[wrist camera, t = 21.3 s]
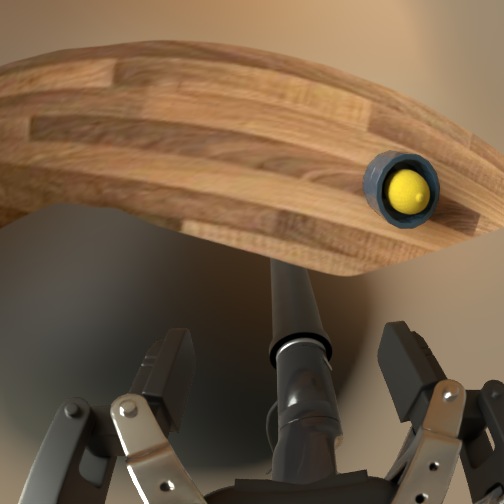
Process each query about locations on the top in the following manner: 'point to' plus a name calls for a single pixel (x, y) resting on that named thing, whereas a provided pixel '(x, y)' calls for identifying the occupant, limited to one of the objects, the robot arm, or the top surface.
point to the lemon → (407, 191)
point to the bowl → (376, 183)
